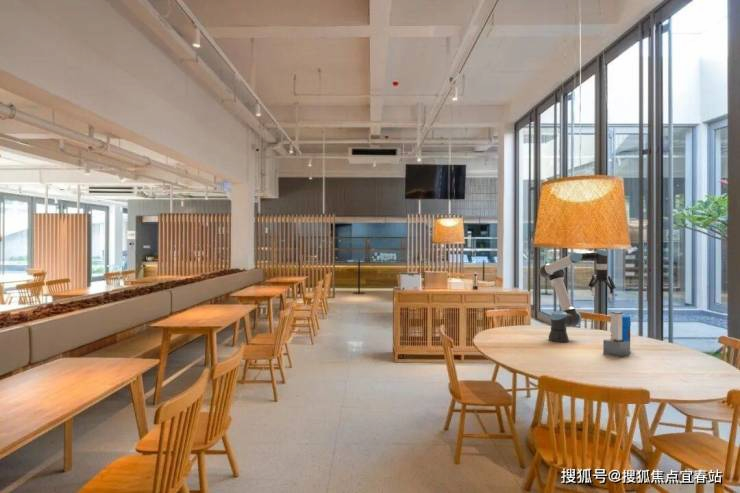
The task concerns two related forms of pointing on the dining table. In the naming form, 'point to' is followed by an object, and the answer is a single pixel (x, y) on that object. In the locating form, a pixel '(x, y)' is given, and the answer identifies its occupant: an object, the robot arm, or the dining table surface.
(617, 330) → the column
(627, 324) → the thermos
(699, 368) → the dining table surface
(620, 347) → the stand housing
